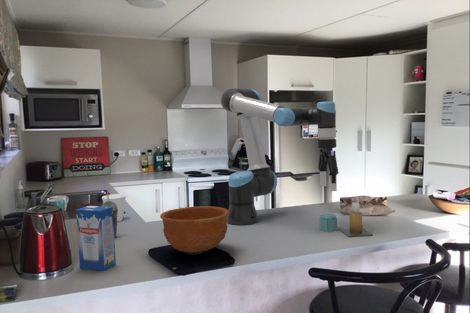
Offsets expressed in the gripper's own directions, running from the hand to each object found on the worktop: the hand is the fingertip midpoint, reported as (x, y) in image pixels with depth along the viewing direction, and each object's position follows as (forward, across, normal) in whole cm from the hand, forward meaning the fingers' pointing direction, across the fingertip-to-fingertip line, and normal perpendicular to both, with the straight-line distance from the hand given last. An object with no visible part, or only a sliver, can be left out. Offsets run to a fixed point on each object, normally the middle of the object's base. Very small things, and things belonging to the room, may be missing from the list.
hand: (328, 188), depth 170 cm
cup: (+17, +38, +98) cm, 107 cm away
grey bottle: (+18, +6, +93) cm, 95 cm away
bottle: (+18, -8, -9) cm, 21 cm away
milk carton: (+18, -30, +89) cm, 96 cm away
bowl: (+18, -21, +56) cm, 62 cm away
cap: (+18, 0, 0) cm, 18 cm away
